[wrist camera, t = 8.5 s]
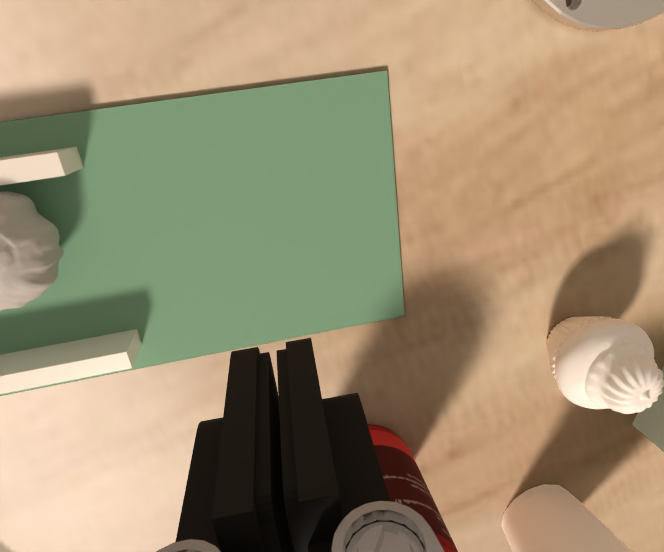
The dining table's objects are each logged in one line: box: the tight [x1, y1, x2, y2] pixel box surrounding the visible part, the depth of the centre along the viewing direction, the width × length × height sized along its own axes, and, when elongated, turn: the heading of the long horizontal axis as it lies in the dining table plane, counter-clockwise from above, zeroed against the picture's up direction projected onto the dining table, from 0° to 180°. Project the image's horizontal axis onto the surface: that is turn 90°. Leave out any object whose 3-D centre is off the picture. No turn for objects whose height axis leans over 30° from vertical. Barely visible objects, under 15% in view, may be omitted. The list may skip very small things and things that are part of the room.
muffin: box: [547, 316, 664, 414], centre depth 28 cm, size 6×6×7 cm
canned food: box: [368, 425, 458, 552], centre depth 27 cm, size 8×8×11 cm
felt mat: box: [0, 71, 405, 396], centre depth 24 cm, size 26×14×1 cm, turn 97°
